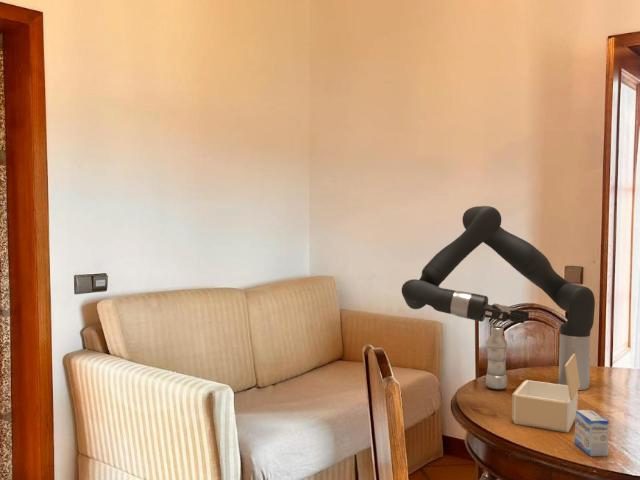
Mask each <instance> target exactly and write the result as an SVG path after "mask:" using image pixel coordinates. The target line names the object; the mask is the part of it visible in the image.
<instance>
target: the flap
mask: <svg viewBox="0 0 640 480" xmlns="http://www.w3.org/2000/svg"><path fill="white" fill-rule="evenodd" d="M565 371H566V377H567V383H568V390H569V396H570V400H573V398H574V396H575V394H576V392H577V391H578V392H579V390H578V389H579V387H580V380H579V374H578V368H577V361H576V355H575V354H573V355H572V356H571V358H570V359H569V361H568V362H567V363H566V365H565Z"/></svg>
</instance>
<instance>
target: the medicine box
mask: <svg viewBox="0 0 640 480" xmlns="http://www.w3.org/2000/svg"><path fill="white" fill-rule="evenodd" d="M574 423H575V424H574V426H575V427H574V444H575V446H577V447H578V448H579V449H581V450H582V451H583V452H585V454H587V455H588V456H590V457H606V456H607V457H608V451H609V429H610V428H609V425H610V424H609V420H608V419H606V418H604V417H603V416H601V415H600V414H598V413H596V412H595V411H594V410H592V409H591V410H590V409H581V410H580V409H577V411H576V418H575V420H574Z"/></svg>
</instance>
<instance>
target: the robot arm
mask: <svg viewBox="0 0 640 480" xmlns="http://www.w3.org/2000/svg"><path fill="white" fill-rule="evenodd" d="M462 224H463V228H464V229H465V230H464V231H463V232H462V233H461V234H460V235H459V236H458V237H456V238H455V240H453V241H452V242H451V243H449V244H447V245H446V246H445V247H443V248H441V250H440V251H438V252H437V253H436V254H435V255H434V256H433V257H432V258H431V259H430V260H429V261H428V263H427V264H426V265H425V266H424V267H423V268H422V271H421V276H420V278H419V279H408V280H407V281H404V283H403V284H402V286H401V295H402V297H403V299H404V301H405V303H406V305H407V306H408V308H410V309H412V310H420V309H422V308H424V307H425V306H430V307H432V308H433V310H435V311H437V312H440V313H445V314H449V315H453V316H456V317H459V318H461V319H462V318H463V319H467V320H470V321H471V320H472V321H477V322H480V323H481V322H482V323H483V322H484V320H485V318H488V319H492V320H498V321H501V322H515V323H518V324H525V321H527V320H529V316H530V312H529V311H524V310H520V309H517V308H515V307H514V306H508V305H503V304H499V303H493V304H489V297H488V296H487V295H483V294H478V293H473V292H467V291H462V290H461V291H460V290H453V289H449V288H443V287H440V285H441V284H442V283H443V282H444V281H445V280H446V279H447V278H448V276H450V274H452V272H453V271H454V270H455V269H456V268H457V267H458V266H459V265H460V263H461V262H462V261H464V260H465V259H466V258H467V257H468V255H470V254H471V253H472V252H474V251H475V249H477V248H479V246H480V245H482V244H483V243H484V244H485V245H487V246H488V247H489V248H490V249H492V250H493V251H494V252H496V254H498V256H500V257H501V258H502V259H503V260H504V261H505V262H507V263H508V264H509V265H510V266H511V267H512V268H513V269H515V270H516V271H517V272H518V273H519V274H520V275H522V276H523V277H524V278H525V279H527V281H530V282H531V283H532V284H533V285H535V286H537V287H538V288H539V289H541V290H542V291H543V292H544V293H545V294H546V295H547V296H548V297H549V298H550V299H551V301H553V303H555V304H556V306H558V308H560V309H561V310H563V311H565V312H567V320H566V322H564V323H561V324H560V325H559V349H558V351H559V352H558V356H559V357H558V382H557V384H560V385H567V386H568V383H567V377H566V371H565V365H566V363H567V362H568V361H569V359H570V358H571V356H572V355H573V354H575V355H576V361H577V368H578V374H579V380H580V387H579V389H578V391H585V390H587V389H589V388H590V383H591V379H590V376H591V356H590V355H591V353H590V352H591V332H592V331H591V330H592V328H593V326H594V323H595V322H594V319H595V309H596V308H595V307H596V301H595V295H594V292H593V291H592V290H591V289H590V287H587V286H584V285H579V284H574V283H571V282H570V281H568V280H566V279H565V278H563V276H561V275H560V274H558V273H557V272H556V271H555V269H554V268H553V266H552V264H551V263H550V261H549V259H548V258H547V257H546V255H544V253H543V252H542V251H540V250H539V249H538V248H536V247H535V246H534V245H533V244H531V243H530V242H528V241H527V240H524V239H523V238H522V237H520V236H517V235H515V234H512V233H510V232H508V231H507V230H505V229H504V228H503V227H502V226H501V225H502V215H501V213H500V211H499V210H498V209H497V208H496V207H494V206H491V205H490V206H488V205H480V206H478V205H477V206H472V207H469V208H468V209H466V210H465V211H464V213H463V215H462Z"/></svg>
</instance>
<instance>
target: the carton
mask: <svg viewBox="0 0 640 480" xmlns="http://www.w3.org/2000/svg"><path fill="white" fill-rule="evenodd" d="M578 394H579V390H578V391H577V392H576V394H575V396H574V398H573V400H570V396H569V390H568V386H567V385H560V384H558V383H551V382H543V381H537V380H536V381H535V380H530V379H529V380H528V379H527V380H523V382H521V384H520V385H519V386H518V387H517V388H516V389H515V391H513V393H512V395H511V420H512V421H513V424H515V425H516V424H517V425H521V426H527V427H534V428H538V429H545V430H550V431H557V432H562V433H569V432H570V430H571V429H572V426H573V425H574V423H575V421H576V411H577V410H578V402H579V401H578V399H579V397H578V396H579V395H578Z"/></svg>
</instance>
